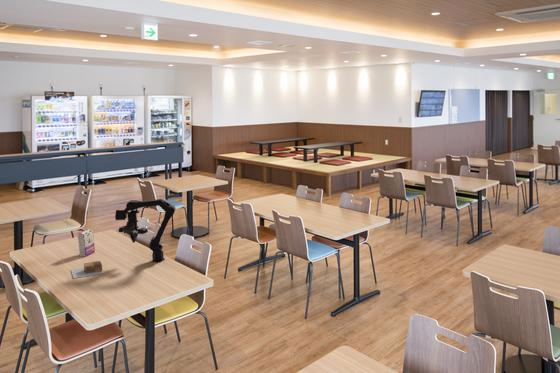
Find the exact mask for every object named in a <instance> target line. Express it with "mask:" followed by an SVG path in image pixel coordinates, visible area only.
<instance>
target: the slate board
mask: <svg viewBox="0 0 560 373" xmlns="http://www.w3.org/2000/svg"><path fill="white" fill-rule="evenodd" d="M70 271H71V274H72V278H73V279H79V278H86V277H91V276H98V275H102V271H98V272H92V273H86V274H85V271H84V267H82V268H75V269H70Z"/></svg>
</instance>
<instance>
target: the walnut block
mask: <svg viewBox="0 0 560 373" xmlns="http://www.w3.org/2000/svg"><path fill="white" fill-rule="evenodd" d="M83 268H84V271H85V274H86V273H92V272H98V271H100V272H103V264H102V261H101V260H96V261H90V262H83Z"/></svg>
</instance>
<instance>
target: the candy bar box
mask: <svg viewBox="0 0 560 373" xmlns="http://www.w3.org/2000/svg"><path fill="white" fill-rule="evenodd" d="M77 239H78V242H77V243H78V249H79V250H78V251H79V257H82V258H84V257H85V258H86V257H88V256H90V255H92V254H93V253H95V252H96V251H95V250H96V249H95V239H94V231H93V229H85V230H83V231H81V232H79V233H77Z"/></svg>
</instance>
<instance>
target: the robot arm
mask: <svg viewBox="0 0 560 373" xmlns="http://www.w3.org/2000/svg"><path fill="white" fill-rule="evenodd" d="M156 206H157V207H160V208H161V210H163V211H164V217H163V220H162V221H161V224H160V226H159V229H158V230H157V233H156V235H155V236H152V238H150V239H151V240H150V242H149V244H148V245H149V249H150V251H152V254H151V256H152V260H151V262H155V263H162V261H165V260H166V258H164V257H165V256H164V251H163V249H164V246H163V245H162V244H161V240H162V236H163V234H164V232H165V230H166V227H167V225H168V223H169V221H170V220H171V218H172V217H173V215H174V214H175V212H176V207H175V205H174V204H171V203H169V202H167V201H166V200H164V199H162V198H158V199H147V200H136V199H135V200H134V199H131V200H129V201H128V202H127V203H126V205H125V208H124V209H115V216H114V219H115V221H125V220H126V219H127V221H126V225H123V226H121V227H119V228H118V233H123V234H126V235H128V236H129V237H130V239H131V242H132V243H133V244H134V243H136V240H137V238H138V236H139V235H144V234H146V233H148V228H147V227H139V226H138V223H139V220H138V215H137V214H140V213H141V212H140V210H139V209H140V208H147V207H156Z"/></svg>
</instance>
